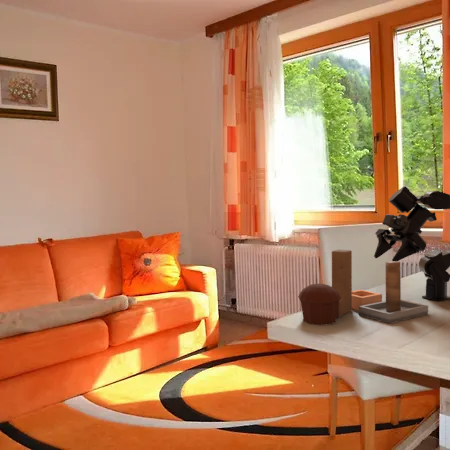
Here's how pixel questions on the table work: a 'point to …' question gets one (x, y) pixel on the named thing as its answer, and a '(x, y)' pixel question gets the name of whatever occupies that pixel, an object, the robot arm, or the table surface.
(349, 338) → the table surface
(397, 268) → the dowel pin
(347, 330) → the table surface
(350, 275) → the wooden block
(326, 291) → the muffin
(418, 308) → the tray
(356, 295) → the orange square ring
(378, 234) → the robot arm
